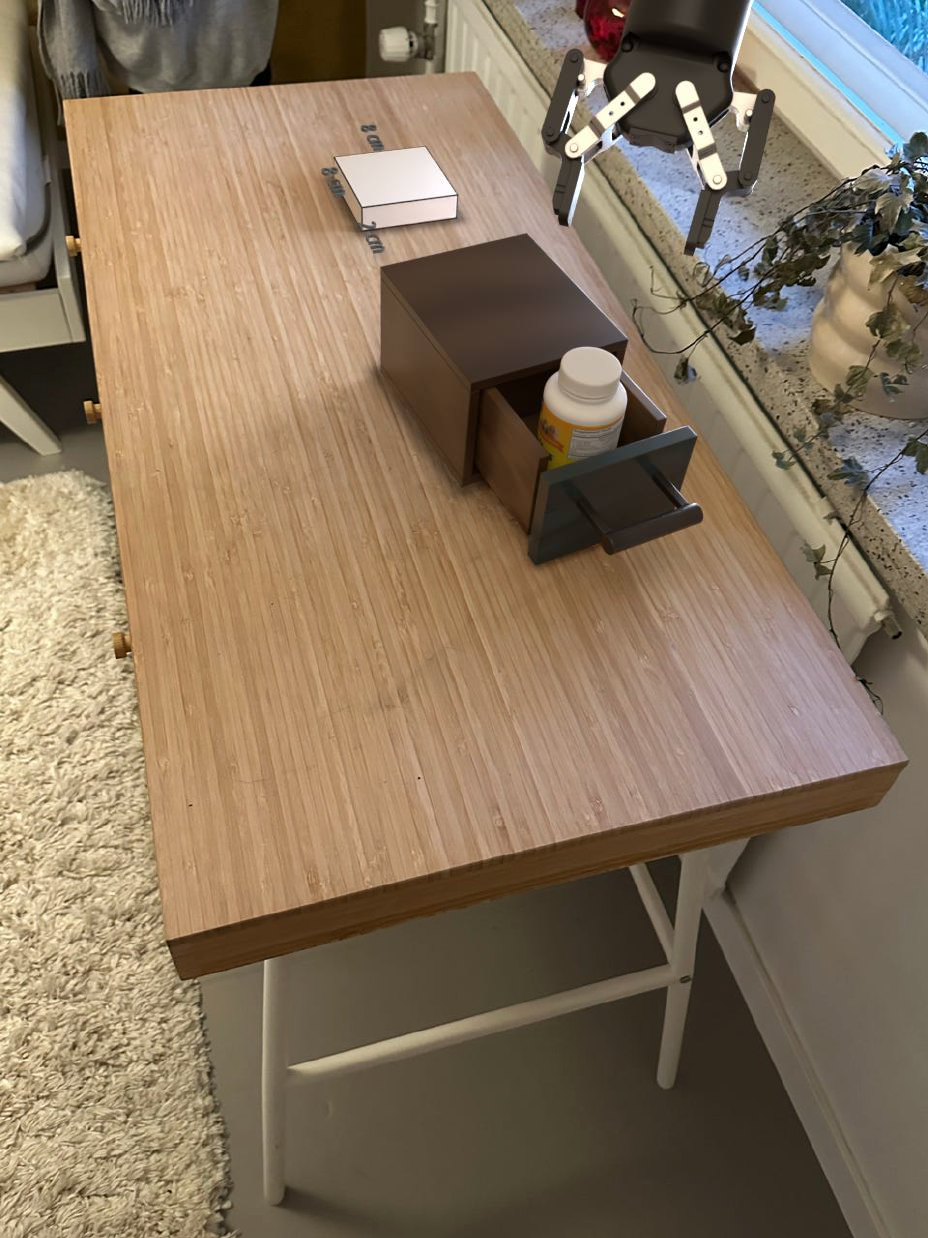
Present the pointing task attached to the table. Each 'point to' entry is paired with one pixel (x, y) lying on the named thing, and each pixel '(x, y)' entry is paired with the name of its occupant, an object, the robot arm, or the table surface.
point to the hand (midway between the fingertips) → (626, 237)
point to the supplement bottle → (582, 407)
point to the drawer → (584, 474)
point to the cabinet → (479, 333)
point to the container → (392, 187)
